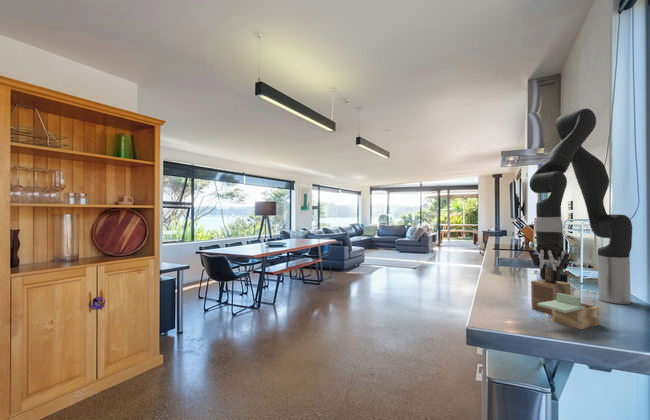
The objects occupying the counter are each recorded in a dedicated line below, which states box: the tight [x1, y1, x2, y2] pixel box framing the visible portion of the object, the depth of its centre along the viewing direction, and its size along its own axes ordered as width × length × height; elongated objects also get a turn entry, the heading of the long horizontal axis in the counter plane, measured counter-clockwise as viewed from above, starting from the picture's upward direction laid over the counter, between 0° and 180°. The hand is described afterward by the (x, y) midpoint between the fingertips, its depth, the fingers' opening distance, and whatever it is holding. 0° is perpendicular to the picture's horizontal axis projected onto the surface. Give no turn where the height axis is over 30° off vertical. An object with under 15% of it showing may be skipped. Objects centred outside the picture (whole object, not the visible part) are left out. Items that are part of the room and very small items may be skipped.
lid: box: [537, 293, 585, 313], centre depth 96 cm, size 9×8×3 cm
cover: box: [530, 266, 571, 315], centre depth 111 cm, size 8×8×16 cm
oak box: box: [551, 302, 600, 330], centre depth 99 cm, size 9×8×6 cm
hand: (550, 280), depth 111 cm, fingers closed on cover, 3 cm apart
